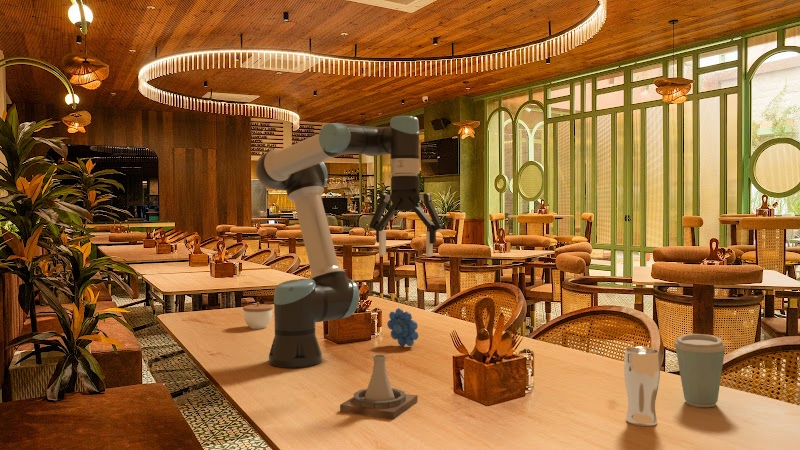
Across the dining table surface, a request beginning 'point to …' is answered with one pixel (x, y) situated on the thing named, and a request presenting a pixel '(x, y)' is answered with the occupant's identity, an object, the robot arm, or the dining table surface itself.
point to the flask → (379, 382)
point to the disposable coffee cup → (700, 367)
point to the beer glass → (641, 384)
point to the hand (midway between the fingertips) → (405, 255)
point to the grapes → (402, 327)
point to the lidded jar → (257, 315)
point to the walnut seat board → (379, 404)
